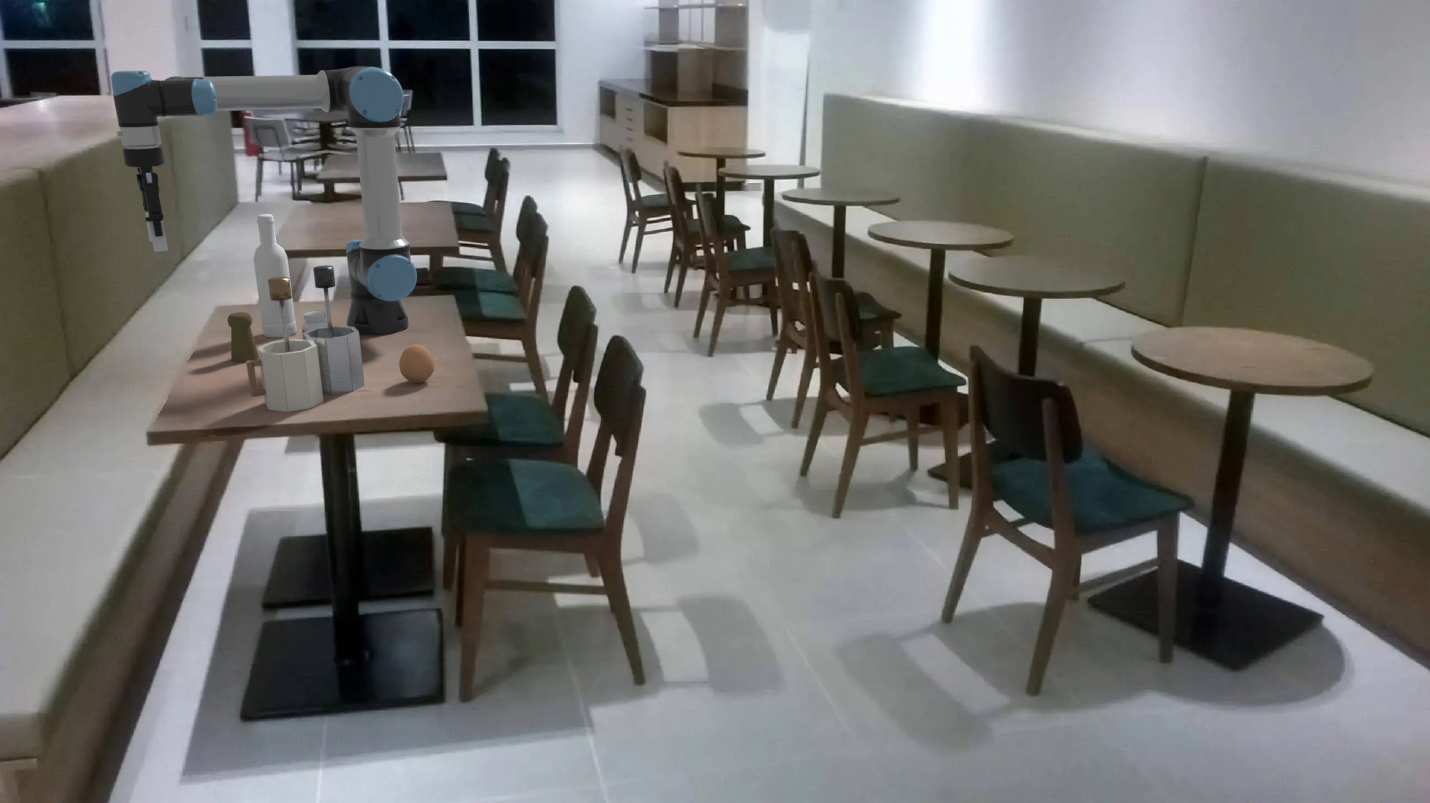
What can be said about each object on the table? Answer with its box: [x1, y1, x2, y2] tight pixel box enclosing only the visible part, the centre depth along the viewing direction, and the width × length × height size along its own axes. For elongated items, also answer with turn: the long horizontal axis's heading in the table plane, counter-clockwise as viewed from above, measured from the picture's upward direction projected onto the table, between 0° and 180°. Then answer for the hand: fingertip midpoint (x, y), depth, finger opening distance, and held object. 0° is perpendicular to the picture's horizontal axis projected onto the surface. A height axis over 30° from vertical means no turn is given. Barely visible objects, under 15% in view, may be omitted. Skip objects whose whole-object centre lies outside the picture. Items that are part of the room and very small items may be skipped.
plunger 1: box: [268, 277, 293, 353], centre depth 221 cm, size 7×7×18 cm
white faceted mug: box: [245, 338, 324, 413], centre depth 224 cm, size 13×11×12 cm
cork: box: [226, 311, 259, 363], centre depth 255 cm, size 6×6×11 cm
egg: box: [398, 343, 435, 384], centre depth 238 cm, size 7×7×8 cm
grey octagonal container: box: [302, 325, 365, 395], centre depth 235 cm, size 13×11×12 cm
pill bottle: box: [301, 310, 328, 334], centre depth 255 cm, size 6×6×11 cm
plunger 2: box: [312, 264, 336, 338], centre depth 232 cm, size 7×7×18 cm
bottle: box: [253, 213, 297, 339], centre depth 273 cm, size 8×8×30 cm
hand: (158, 246), depth 240 cm, fingers open, 13 cm apart
